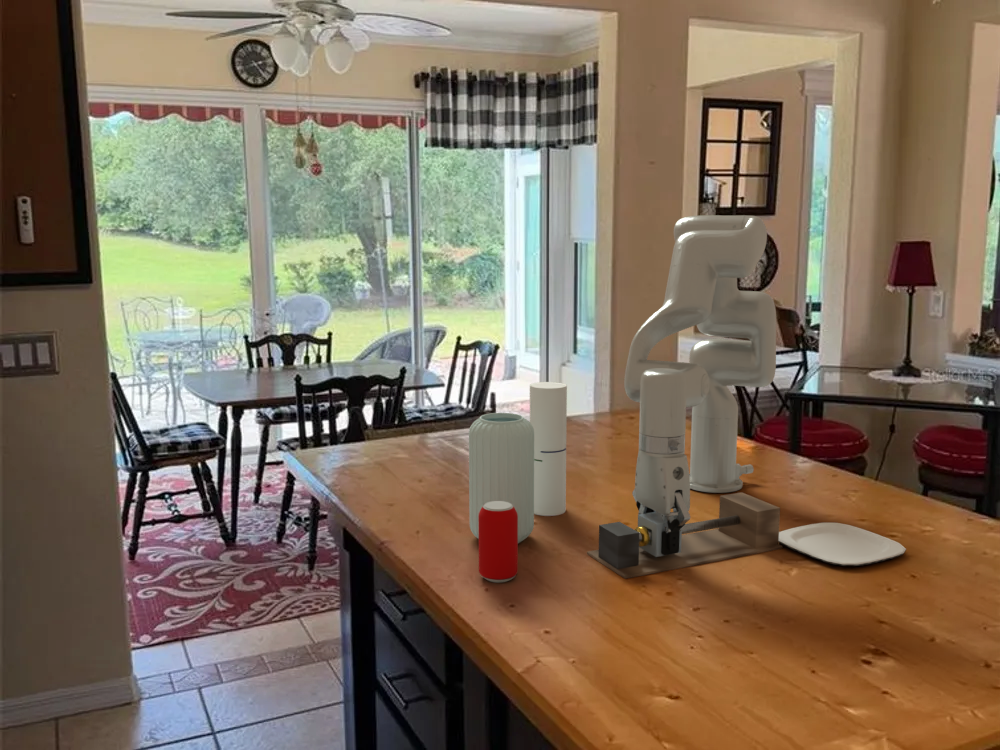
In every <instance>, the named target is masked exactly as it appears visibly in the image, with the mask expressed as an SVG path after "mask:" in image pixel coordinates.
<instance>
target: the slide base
mask: <svg viewBox="0 0 1000 750" xmlns="http://www.w3.org/2000/svg"><path fill="white" fill-rule="evenodd" d="M718 513H719V514H718V518H724V517H730V516H736V515H737V516H739V518H740V524H738V525H733V526H727V527H721V528H715V529H710V530H704V531H698V532H693V533H687V534H682V538H681V552H680V553H675V554H670V555H664V556H659V557H655V556H653V555H652V554H650V553H648V552H647V551H645V550H643V549H641V548H640V547H639V532H637V531H635V528H632V527H630V526H628V525H626V524H625V523H623V522H621V521H617V522H608V523H604V524H598V549H595V550H594V549H593V550H588V551H586V554H587V556H589V557H591V558H593V559H594V560H595V561H597V562H598V563H600V564H602V565H603V566H605V567H606V568H608V569H609V570H611V571H612V572H613V573H615V574H617V575H619V576H620V577H622V578H623V579H631V578H636V577H641V576H646V575H651V574H652V575H653V574H657V573H660V572H667V571H673V570H676V569H682V568H687V567H693V566H698V565H702V564H703V565H704V564H709V563H713V562H719V561H723V560H728V559H729V560H730V559H736V558H739V557H744V556H749V555H754V554H759V553H765V552H771V551H775V550H781V549H783V545H782V544H779V542H778V540H779V532H780V517H781V516H780V515H781V507H779V506H776V505H774V504H772V503H769V502H768V501H767V502H766V501H764V500H762V499H760V498H757V497H754V496H752V495H750V494H746V493H745V492H737V493H731V494H730V493H729V494H724V495H719V512H718Z"/></svg>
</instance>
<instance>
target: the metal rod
mask: <svg viewBox="0 0 1000 750" xmlns="http://www.w3.org/2000/svg"><path fill="white" fill-rule="evenodd" d="M738 524H740V518H739V516H737V515H736V516H730V517H724V518H719V517H718V518H714V519H707V520H702V521H701V520H700V521H696V522H690V523H689V522H688V523H685V525H684V526H683V527H682V535H685V534H691V533H696V532H702V531H708V530H713V529H719V528H721V527H727V526H733V525H738ZM634 530H635V531H637V532H639V546H640V547H641V546H647V545H648V544H649V541H650V540H652V530H647V529H646V528H645V527H643V526H642V527H638V526H637V527H635V528H634Z"/></svg>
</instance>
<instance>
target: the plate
mask: <svg viewBox="0 0 1000 750" xmlns="http://www.w3.org/2000/svg"><path fill="white" fill-rule="evenodd" d="M779 543H780V545H782V546H785V547H787V548H789V549H791V550H793V551H797V552H798V553H801V554H803V555H806V556H808V557H810V558H813V559H815V560H818V561H821V562H824V563H827V564H830V565H837V566H841V567H842V566H843V567H858V566H865V565H872V564H875V563H879V562H884V561H887V560H890V559H891V560H892V559H894V558H897V557H899V556H902V555H904V553H905V552H906V551H907V548H905V547H904V546H903V545H902V544H901V543H900V542H898V541H895V540H893V539H891V538H888V537H885V536H882V535H880V534H878V533H875V532H872V531H870V530H866V529H864V528H860V527H858V526H854V525H850V524H845V523H840V522H817V523H811V524H807V525H801V526H796V527H792V528H788V529H785V530H782V531H779V540H778V544H779Z"/></svg>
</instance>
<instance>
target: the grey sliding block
mask: <svg viewBox="0 0 1000 750" xmlns="http://www.w3.org/2000/svg"><path fill="white" fill-rule="evenodd" d="M669 520H670V523H671V522H672V521H673V520H674V516H670V517H669ZM642 526H643V527H645V528H646V529H647V530H652V540H650V541H649V544H648V545H647V546H641V547H640V546H639V547H640V548H641V549H643V550H645V551H647V552H648V553H650V554H652V555H653V556H655V557H659V556H664V555H663V554H662V553H661V545H662V531H665V530H664V525H663V519H662V514H660V513H658V512H652V513H645V514H639V515H638V514H637V527H642ZM682 535H683V534H682V530H681V531H680V537H679V552H678V553H680V552H681V538H682ZM669 555H670V554H669Z"/></svg>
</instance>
